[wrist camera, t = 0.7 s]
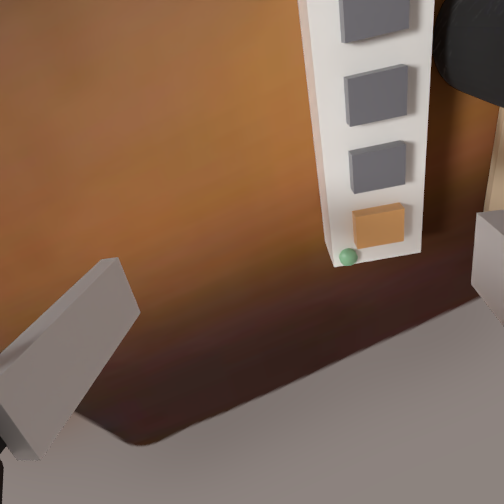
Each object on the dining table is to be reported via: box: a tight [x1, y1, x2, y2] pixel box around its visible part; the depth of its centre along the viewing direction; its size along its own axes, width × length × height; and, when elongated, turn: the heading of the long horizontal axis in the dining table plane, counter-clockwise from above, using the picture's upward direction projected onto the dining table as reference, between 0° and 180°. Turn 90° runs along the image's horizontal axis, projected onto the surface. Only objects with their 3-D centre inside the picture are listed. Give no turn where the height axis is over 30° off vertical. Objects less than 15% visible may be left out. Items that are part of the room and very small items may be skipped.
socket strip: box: [298, 0, 435, 267], centre depth 21 cm, size 18×6×4 cm, turn 12°
